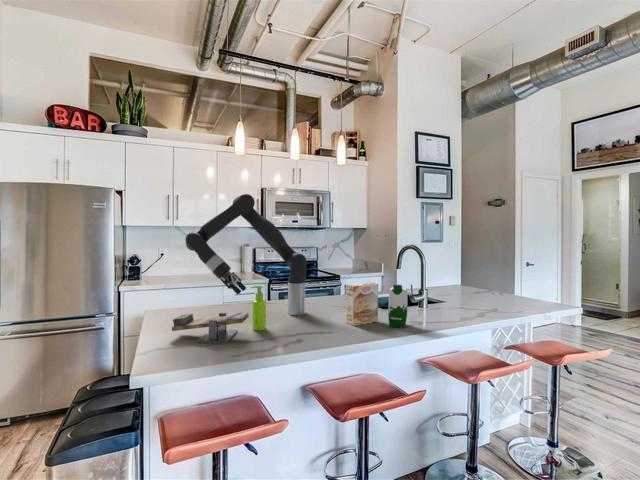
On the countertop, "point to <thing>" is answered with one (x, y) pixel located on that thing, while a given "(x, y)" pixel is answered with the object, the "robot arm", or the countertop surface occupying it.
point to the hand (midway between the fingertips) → (242, 291)
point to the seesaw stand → (217, 333)
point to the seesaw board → (206, 321)
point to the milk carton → (397, 306)
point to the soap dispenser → (259, 310)
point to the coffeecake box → (361, 303)
